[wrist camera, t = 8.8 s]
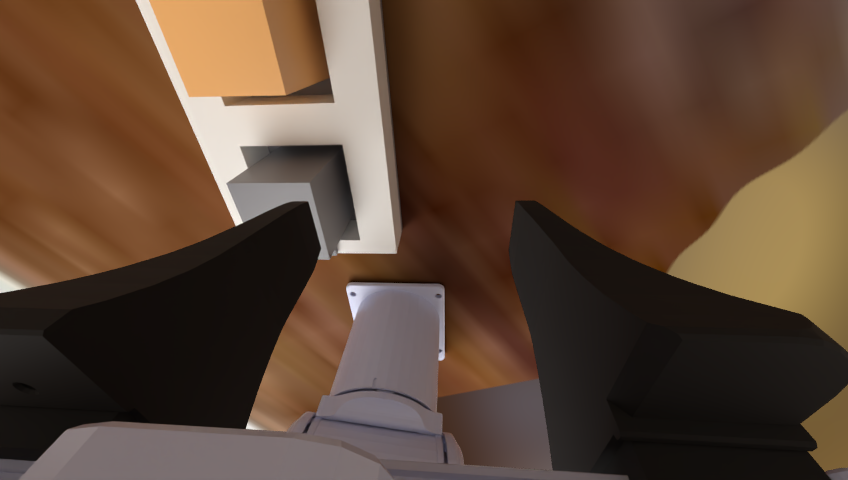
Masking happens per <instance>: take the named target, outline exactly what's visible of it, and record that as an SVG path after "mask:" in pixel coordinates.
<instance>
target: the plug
mask: <svg viewBox="0 0 848 480" xmlns="http://www.w3.org/2000/svg"><path fill="white" fill-rule="evenodd" d="M149 2H150V4H151V7H152V9H153V11H154V14H155V16H156V19H157V21H158V23H159V26H160V28H161V31H162V33H163V35H164V38H165V40H166V43H167V45H168V47H169V50H170V52H171V55H172V57H173V60H174V62H175V64H176V67H177V69H178V72H179V74H180V76H181V79H182V81H183V84H184V86H185V88H186V91H187V93H188V96H189V97H221V96H280V95H288V94H291V93H293V92H296V91H298V90H301V89H303V88H306V87H308V86H311V85H313V84H316V83H318V82H321V81H323V80H325V79H328V78H330V75H329V70H328V64H327V59H326V54H325V48H324V43H323V38H322V32H321V27H320V22H319V16H318V11H317V5H316V0H149Z"/></svg>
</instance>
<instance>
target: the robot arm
mask: <svg viewBox="0 0 848 480" xmlns="http://www.w3.org/2000/svg"><path fill="white" fill-rule="evenodd" d="M320 251H321V245H320V242H319V238H318V234H317V231H316V227H315V224H314V220H313V216H312V213H311V209H310V205H309V202H308V201H291V202H288V203H285V204H282V205H280V206H278V207H275V208H273V209H271V210H269V211H267V212H264V213H262V214H260V215H258V216H256V217H254V218H252V219H250V220H248V221H246V222H244V223H242V224H239V225H237V226H235V227H233V228H231V229H228V230H226V231H224V232H222V233H219V234H217V235H215V236H213V237H210V238H208V239H206V240H203V241H201V242H198V243H196V244H193V245H190V246H188V247H185V248H182V249H179V250H177V251H174V252H171V253H168V254H165V255H162V256H159V257H155V258H152V259H149V260H145V261H142V262H139V263H135V264H132V265H129V266H125V267H122V268H118V269H114V270H110V271H106V272H102V273H98V274H94V275H90V276H85V277H81V278H77V279H72V280H68V281H63V282H58V283H53V284H48V285H42V286H37V287H32V288H26V289H21V290H16V291H11V292H5V293H0V480H848V468H839V469H833V470H828V471H826V472H824V470H823V469H822V468H821V467H820V466H819V465H818V463H817V462H816V461H815V460H814V459H813V457H812V456H811V455H810V454H809V453H808V452H807V451H813V450H815V449H816V448H817V443H816V441H815V440H814V439H813V438H812V436H811V435H810V434H809V433H808V432H807V431H806V430H805V429H804V427H803V426H802V425H801V424H800V423H802V422H803V421H804V420H806V419H807V418H808V417H809V416H811V415H812V414H813V413H815V412H816V411H817V410H819V409H820V408H821V407H822V406H824V405H825V404H826V403H828V402H829V401H830V400H831V399H833V398H834V397H835V396H836V395H837V394H838V393H839V392H840V391H841V390H842V389H843V388H845V387H846V386H847V384H848V352H847V351H846V350H845V349H844V348H843V347H841V346H840V345H839V344H838V343H837V342H836V341H834V340H833V339H832V338H830V337H829V336H828V335H827V334H826V333H825V332H823V331H822V330H821V329H820V328H819V327H817V326H816V325H815V324H814V323H812V322H811V321H810V320H809V319H808V318H806V317H804V316H803V315H801V314H798V313H795V312H791V311H787V310H783V309H780V308H776V307H772V306H768V305H765V304H761V303H757V302H753V301H749V300H746V299H742V298H738V297H735V296H731V295H728V294H725V293H721V292H718V291H715V290H712V289H709V288H706V287H703V286H700V285H697V284H693V283H691V282H688V281H685V280H682V279H679V278H676V277H674V276H671V275H669V274H666V273H664V272H661V271H659V270H656V269H654V268H651V267H649V266H646V265H644V264H642V263H639V262H637V261H635V260H632V259H630V258H628V257H626V256H624V255H622V254H620V253H618V252H616V251H614V250H612V249H610V248H608V247H606V246H604V245H603V244H601V243H599V242H597V241H596V240H594V239H592V238H591V237H589V236H587V235H586V234H584V233H582V232H581V231H579V230H578V229H576V228H574V227H573V226H571V225H570V224H568V223H567V222H566V221H564V220H563V219H561V218H560V217H558V216H557V215H555V214H554V213H553V212H551V211H550V210H548V209H547V208H545V207H544V206H543V205H541V204H539V203H538V202H536V201H516V202H515V209H514V216H513V223H512V231H511V238H510V245H509V256H510V263H511V269H512V275H513V278H514V281H515V285H516V288H517V291H518V295H519V298H520V301H521V304H522V307H523V311H524V314H525V317H526V320H527V324H528V327H529V330H530V334H531V338H532V343H533V348H534V353H535V359H536V364H537V369H538V375H539V380H540V387H541V392H542V398H543V405H544V411H545V418H546V424H547V430H548V438H549V445H550V453H551V459H552V468H553V470H537V469H522V468H521V469H520V468H505V467H492V466H477V465H464V461H463V456H462V452H461V449H460V447H459V446H458V444H457V443H456V441H455V439H454V437H453V435H452V434H451V433H445V432H442V414H441V413H437V386H438V360H443V359H444V358H445V288H444V286H443V285H441V284H417V283H364V282H350V283H348V285H347V287H346V290H347V295H348V299H349V303H350V307H351V311H352V315H353V319H354V323H353V326H352V329H351V332H350V335H349V338H348V341H347V344H346V347H345V350H344V353H343V356H342V359H341V362H340V365H339V368H338V371H337V374H336V377H335V380H334V383H333V386H332V389H331V392H330V395H329V396H326V395H324V396H322V398H321V401H320V404H319V407H318V410H317V413H315V412H306V413H304V414H303V415H302V416H301V417H300V418H299V419H298V420H296V421H295V422H294V423H293V424H292V425H291V426H290V427H289V429H288V430H287V432H283V431H266V430H250V429H246V426H247V423H248V419H249V416H250V413H251V410H252V407H253V404H254V401H255V398H256V395H257V392H258V389H259V386H260V383H261V381H262V378H263V375H264V373H265V370H266V367H267V365H268V362H269V359H270V357H271V354H272V352H273V349H274V347H275V345H276V342H277V340H278V337H279V335H280V333H281V330H282V328H283V326H284V324H285V322H286V320H287V318H288V317H289V315H290V313H291V311H292V309H293V308H294V306H295V304H296V302H297V300H298V299H299V297H300V295H301V293H302V291H303V290H304V288H305V286H306V284H307V282H308V280H309V278H310V277H311V275H312V273H313V271H314V268H315V266H316V263H317V260H318V257H319V254H320ZM353 292H355V293H353ZM437 294H441V295H437Z"/></svg>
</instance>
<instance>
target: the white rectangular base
mask: <svg viewBox="0 0 848 480" xmlns="http://www.w3.org/2000/svg"><path fill="white" fill-rule="evenodd" d="M136 2H137V4H138V7H139V9H140V11H141V13H142V16H143V18H144V20H145V22H146V25H147V27H148V29H149V31H150V34H151V36H152V38H153V40H154V43H155V45H156V47H157V49H158V52H159V54H160V56H161V58H162V61H163V63H164V65H165V67H166V70H167V72H168V74H169V76H170V79H171V81H172V83H173V85H174V88H175V90H176V92H177V94H178V97H179V99H180V101H181V103H182V106H183V108H184V110H185V112H186V115H187V117H188V119H189V121H190V124H191V126H192V128H193V130H194V133H195V135H196V137H197V139H198V142H199V144H200V146H201V148H202V151H203V153H204V155H205V157H206V160H207V162H208V164H209V166H210V169H211V171H212V173H213V175H214V178H215V180H216V182H217V184H218V187H219V189H220V191H221V193H222V196H223V198H224V200H225V202H226V205H227V207H228V209H229V211H230V214H231V216H232V218H233V220H234V223H235V225H236V226H237V225H239V224H242V223H244V222H246V221H248V220H250V219H252V218H254V217H256V216H258V215H260V214H262V213H264V212H267V211H269V210H271V209H273V208H275V207H278V206H280V205H282V204H285V203H288V202H291V201H308V202H309V205H310V209H311V213H312V216H313V220H314V224H315V227H316V231H317V234H318V238H319V242H320V245H321V251H320V254H319V257H318V259H325V260H330V258H331V256H332V255H335V256H336V255H337V253H380V254H397V250H398V246H399V242H400V237H401V233H402V229H403V228H402V217H401V206H400V195H399V184H398V173H397V162H396V152H395V141H394V130H393V119H392V108H391V97H390V86H389V75H388V65H387V54H386V43H385V32H384V21H383V10H382V0H316V5H317V11H318V16H319V22H320V27H321V32H322V38H323V43H324V48H325V54H326V59H327V64H328V70H329V75H330V78H328V79H325V80H323V81H321V82H318V83H316V84H313V85H311V86H308V87H306V88H303V89H301V90H298V91H296V92H293V93H291V94H288V95H280V96H221V97H189V96H188V93H187V91H186V88H185V86H184V84H183V81H182V79H181V76H180V74H179V72H178V69H177V67H176V64H175V62H174V60H173V57H172V55H171V52H170V50H169V47H168V45H167V43H166V40H165V38H164V35H163V33H162V31H161V28H160V26H159V23H158V21H157V19H156V16H155V14H154V11H153V9H152V7H151V4H150V2H149V0H136Z"/></svg>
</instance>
